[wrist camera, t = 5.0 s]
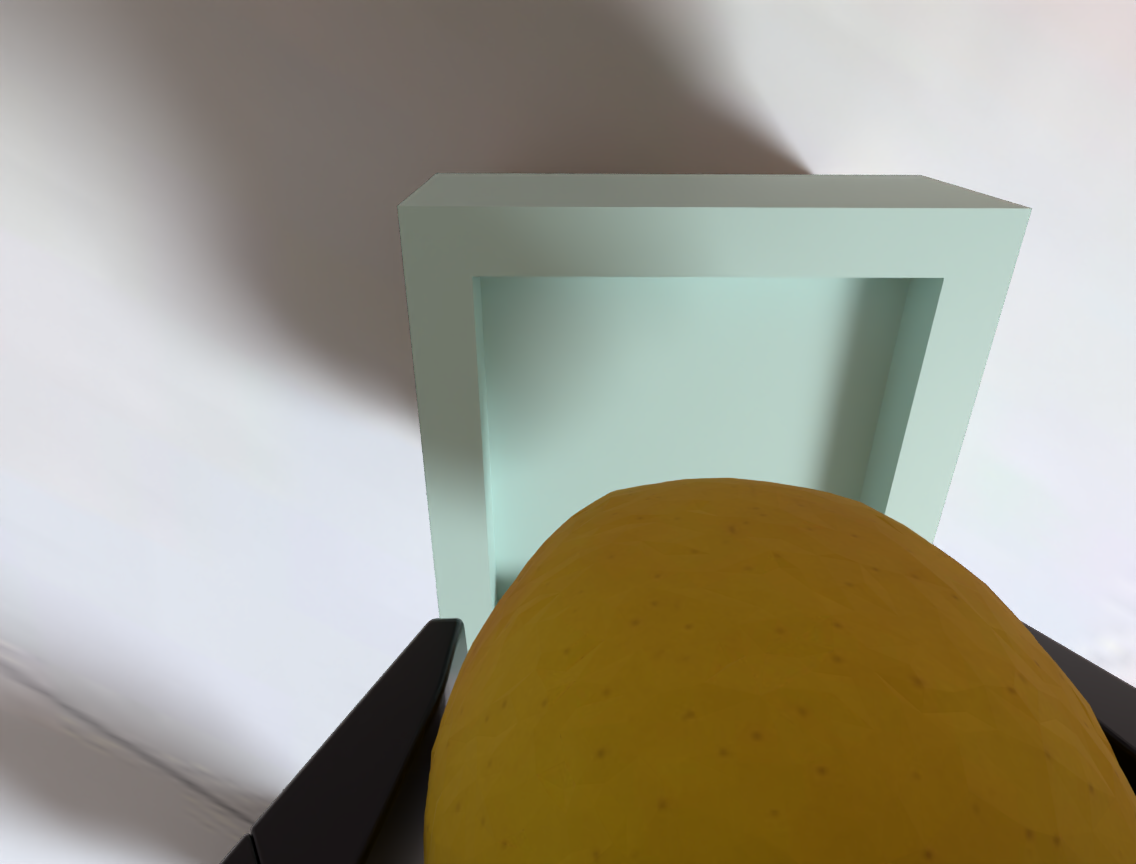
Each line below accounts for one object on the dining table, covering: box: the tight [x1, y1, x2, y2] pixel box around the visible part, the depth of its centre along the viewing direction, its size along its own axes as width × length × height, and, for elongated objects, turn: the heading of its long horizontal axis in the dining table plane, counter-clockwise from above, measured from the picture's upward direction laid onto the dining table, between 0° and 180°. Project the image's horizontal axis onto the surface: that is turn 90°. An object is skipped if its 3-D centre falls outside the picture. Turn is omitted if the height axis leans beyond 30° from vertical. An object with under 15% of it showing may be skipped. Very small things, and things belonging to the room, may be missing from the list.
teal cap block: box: [397, 173, 1032, 651], centre depth 14 cm, size 9×9×4 cm
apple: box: [423, 478, 1136, 864], centre depth 7 cm, size 6×6×8 cm
